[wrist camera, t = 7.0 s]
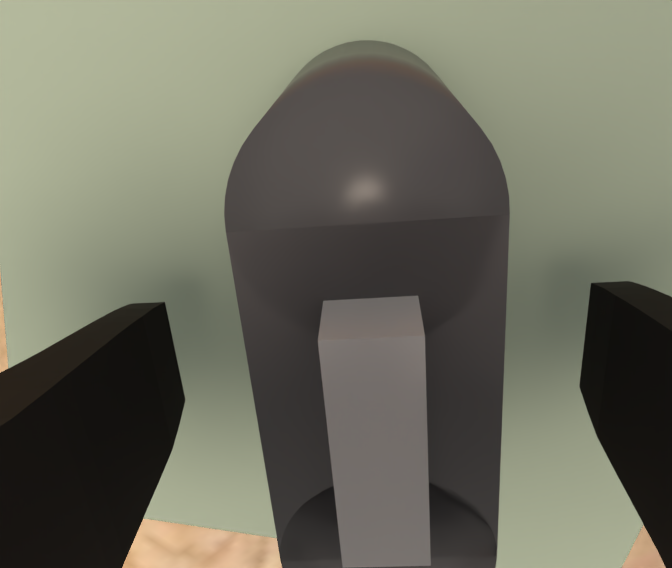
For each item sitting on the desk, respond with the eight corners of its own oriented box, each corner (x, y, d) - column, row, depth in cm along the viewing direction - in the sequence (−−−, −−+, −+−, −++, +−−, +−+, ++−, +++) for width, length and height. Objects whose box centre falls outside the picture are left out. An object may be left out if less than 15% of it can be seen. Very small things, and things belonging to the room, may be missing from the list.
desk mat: (928, -87, 10) (953, -90, 10) (605, 572, 17) (611, 587, 17) (-27, -261, 10) (-46, -273, 10) (28, 486, 17) (19, 500, 16)
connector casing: (454, 32, 11) (539, 73, 6) (455, 435, 15) (506, 690, 10) (266, 48, 11) (176, 103, 6) (314, 440, 15) (286, 691, 10)
